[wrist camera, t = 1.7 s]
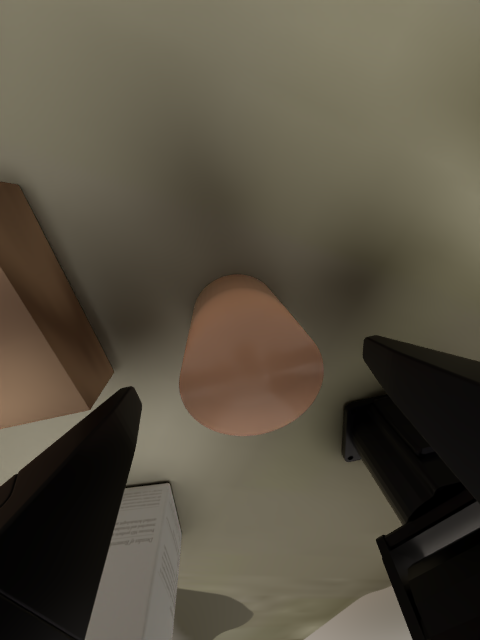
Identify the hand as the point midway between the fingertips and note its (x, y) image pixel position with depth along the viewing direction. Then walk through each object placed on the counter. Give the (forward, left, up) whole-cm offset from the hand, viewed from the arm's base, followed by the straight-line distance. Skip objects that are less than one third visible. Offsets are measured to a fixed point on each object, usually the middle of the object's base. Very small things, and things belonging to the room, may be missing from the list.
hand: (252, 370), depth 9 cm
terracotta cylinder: (0, 0, -5) cm, 5 cm away
